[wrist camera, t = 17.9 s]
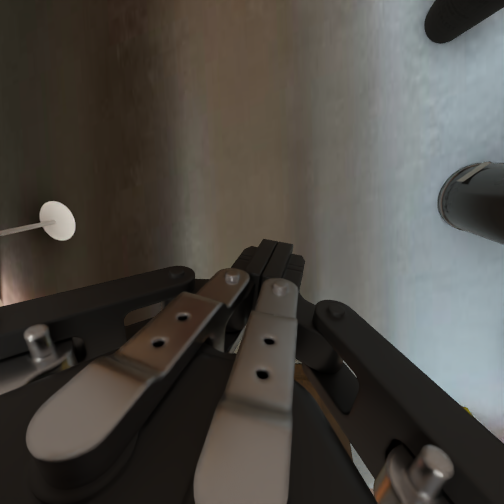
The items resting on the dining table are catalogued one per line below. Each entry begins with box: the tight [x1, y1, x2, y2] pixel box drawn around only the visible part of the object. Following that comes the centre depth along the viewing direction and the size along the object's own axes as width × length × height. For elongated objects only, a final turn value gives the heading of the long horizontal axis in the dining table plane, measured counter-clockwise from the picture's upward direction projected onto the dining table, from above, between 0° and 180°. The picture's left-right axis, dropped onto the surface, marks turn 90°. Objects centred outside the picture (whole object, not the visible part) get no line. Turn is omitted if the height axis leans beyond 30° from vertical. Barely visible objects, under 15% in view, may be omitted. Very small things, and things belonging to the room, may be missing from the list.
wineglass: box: [0, 201, 75, 241], centre depth 41 cm, size 8×9×20 cm
